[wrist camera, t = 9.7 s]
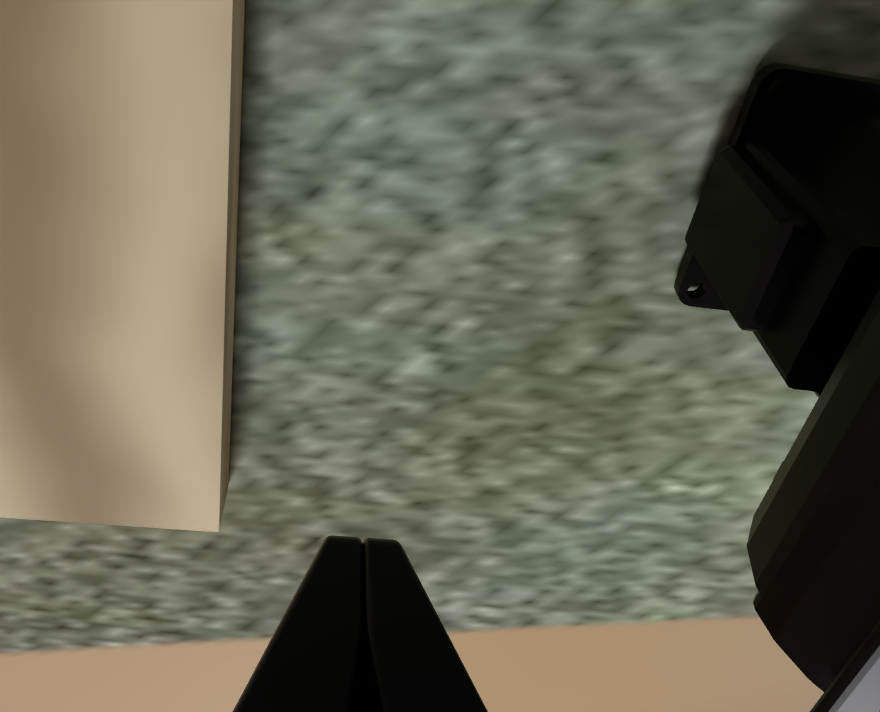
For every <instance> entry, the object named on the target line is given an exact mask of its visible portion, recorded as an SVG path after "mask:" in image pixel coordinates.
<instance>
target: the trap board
mask: <svg viewBox="0 0 880 712" xmlns="http://www.w3.org/2000/svg"><path fill="white" fill-rule="evenodd" d="M244 12H245V0H0V517H3V518H18V519H33V520H48V521H63V522H77V523H92V524H107V525H122V526H136V527H151V528H166V529H181V530H195V531H210V532H219V530H220V525H221V520H222V515H223V510H224V505H225V500H226V495H227V489H228V484H229V455H230V426H231V396H232V367H233V337H234V308H235V278H236V249H237V219H238V189H239V160H240V130H241V101H242V71H243V42H244Z"/></svg>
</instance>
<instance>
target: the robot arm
mask: <svg viewBox="0 0 880 712" xmlns="http://www.w3.org/2000/svg"><path fill="white" fill-rule="evenodd" d="M780 79H782V80H783V81H782V87H781V88H780V90H779V91H778V92H777V93H775V94H773V95H767V91H768V88H769V86H770V85H771V83H773V82H774V81H776V80H780ZM685 241H686V243H687V244H688V249H687V251H686V254H685V256H684V259H683V262H682V264H681V267H680V269H679V272H678V275H677V277H676V280H675V284H674V288H675V292H676V294H677V296H678V297H679V299H680V301H681V302H682V303H684V304H685V305H688V306H693V307H702V308H711V309H719V310H728V311H730V313H731V315H732V316H733V318H734V319H735V321H736V323H737V324H738V326H739V327H740V328H741V329H742V330H747V331H753V333H754V334H755V336H756V337H757V339H758V340H759V342H760V343H761V345H762V347H763V348H764V350H765V351H766V353H767V354H768V356H769V357H770V359H771V361H772V362H773V364H774V365H775V367H776V368H777V370H778V371H779V373H780V375H781V376H782V378H783V379H784V381H785V382H786V384H787V385H788V387H790V388H793V389H798V390H808V391H814V392H815V393H816V395H817V396H818V398H819V399H818V400H817V402H816V404H815V406H814V408H813V409H812V411H811V413H810V415H809V417H808V418H807V420H806V422H805V424H804V426H803V427H802V429H801V431H800V433H799V435H798V437H797V438H796V440H795V442H794V444H793V446H792V447H791V449H790V451H789V453H788V455H787V456H786V458H785V460H784V461H783V462H782V464H781V466H780V468H779V469H778V471H777V473H776V475H775V477H774V479H773V482H772V484H771V485H770V487H769V489H768V491H767V493H766V494H765V496H764V498H763V500H762V502H761V503H760V505H759V507H758V509H757V511H756V512H755V514H754V516H753V521H752V525H751V529H750V534H749V538H748V543H747V549H748V554H749V558H750V563H751V567H752V572H753V576H754V581H755V585H756V587H757V589H758V593H757V594H756V596H755V598H754V601H753V604H754V607H755V610H756V612H757V613H758V615H759V617H760V618H761V620H762V621H763V623H764V625H765V626H766V628H767V629H768V631H769V633H770V634H771V636H772V638H773V639H774V640H775V642H776V643H777V644H778V645H779V646H780V648H781V649H782V650H783V651H784V652H785V653H786V654H787V655H788V657H789V658H790V659H791V660H792V661H793V662H794V663H795V664H796V666H797V667H798V668H799V669H800V670H801V671H802V672H803V673H804V674H805V676H806V677H807V678H808V679H809V680H811V681H812V682H813V683H814V684H815V685H816V686H817V687H819V688H820V689H821V690H823V692H824V694H823V695H822V696H821V698H820V699H819V700H818V702H817V703H816V704H815V706H814V707H813V708H812V710H811V711H810V712H880V80H877V79H871V78H865V77H859V76H853V75H847V74H841V73H835V72H829V71H823V70H817V69H811V68H805V67H799V66H792V65H786V64H780V63H779V64H770V65H768V66H766V67H764V68H762V69H761V70H760V71H759V72H758V73H757V74H756V76H755V77H754V79H753V81H752V83H751V85H750V88H749V91H748V93H747V96H746V98H745V101H744V103H743V106H742V109H741V111H740V114H739V116H738V119H737V122H736V124H735V127H734V129H733V132H732V135H731V137H730V140H729V142H728V145H727V146H725V147H724V148H723V149H722V150H720V151H719V152H718V153H717V155H716V157H715V160H714V163H713V165H712V168H711V171H710V173H709V176H708V178H707V181H706V184H705V186H704V189H703V192H702V194H701V197H700V200H699V202H698V205H697V207H696V210H695V213H694V215H693V218H692V221H691V223H690V226H689V228H688V231H687V234H686V237H685ZM694 283H701V285H700V286H699V288H697V289H696V290H694V291H688V288H689V287H690V286H691V285H693V284H694ZM233 712H488V711H487V709H486V707H485V705H484V704H483V702H482V700H481V698H480V696H479V694H478V692H477V690H476V688H475V686H474V684H473V683H472V680H471V678H470V677H469V675H468V673H467V671H466V669H465V667H464V665H463V663H462V661H461V659H460V657H459V655H458V653H457V651H456V650H455V648H454V646H453V644H452V642H451V640H450V638H449V636H448V634H447V632H446V630H445V628H444V626H443V625H442V623H441V621H440V619H439V617H438V615H437V613H436V611H435V609H434V607H433V605H432V603H431V601H430V599H429V598H428V596H427V594H426V592H425V590H424V588H423V586H422V584H421V582H420V580H419V578H418V576H417V574H416V572H415V571H414V569H413V567H412V565H411V563H410V561H409V559H408V557H407V555H406V553H405V551H404V549H403V548H402V546H401V544H400V543H399V542H398V541H396V540H391V539H376V538H368V539H365V540H364V541H363V543H362V542H361V540H360V539H359V538H357V537H346V536H328V537H327V538H326V539H325V540H324V541H323V543H322V545H321V546H320V548H319V550H318V552H317V554H316V556H315V558H314V560H313V562H312V563H311V565H310V567H309V569H308V571H307V573H306V575H305V577H304V578H303V580H302V582H301V584H300V586H299V588H298V590H297V592H296V594H295V595H294V597H293V599H292V601H291V603H290V605H289V607H288V609H287V610H286V612H285V614H284V616H283V618H282V620H281V622H280V624H279V626H278V627H277V629H276V631H275V633H274V635H273V637H272V639H271V641H270V642H269V644H268V646H267V648H266V650H265V652H264V654H263V656H262V658H261V660H260V661H259V663H258V665H257V667H256V669H255V671H254V673H253V674H252V676H251V678H250V680H249V682H248V684H247V686H246V688H245V690H244V691H243V694H242V695H241V697H240V699H239V701H238V703H237V705H236V706H235V708H234V710H233Z"/></svg>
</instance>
